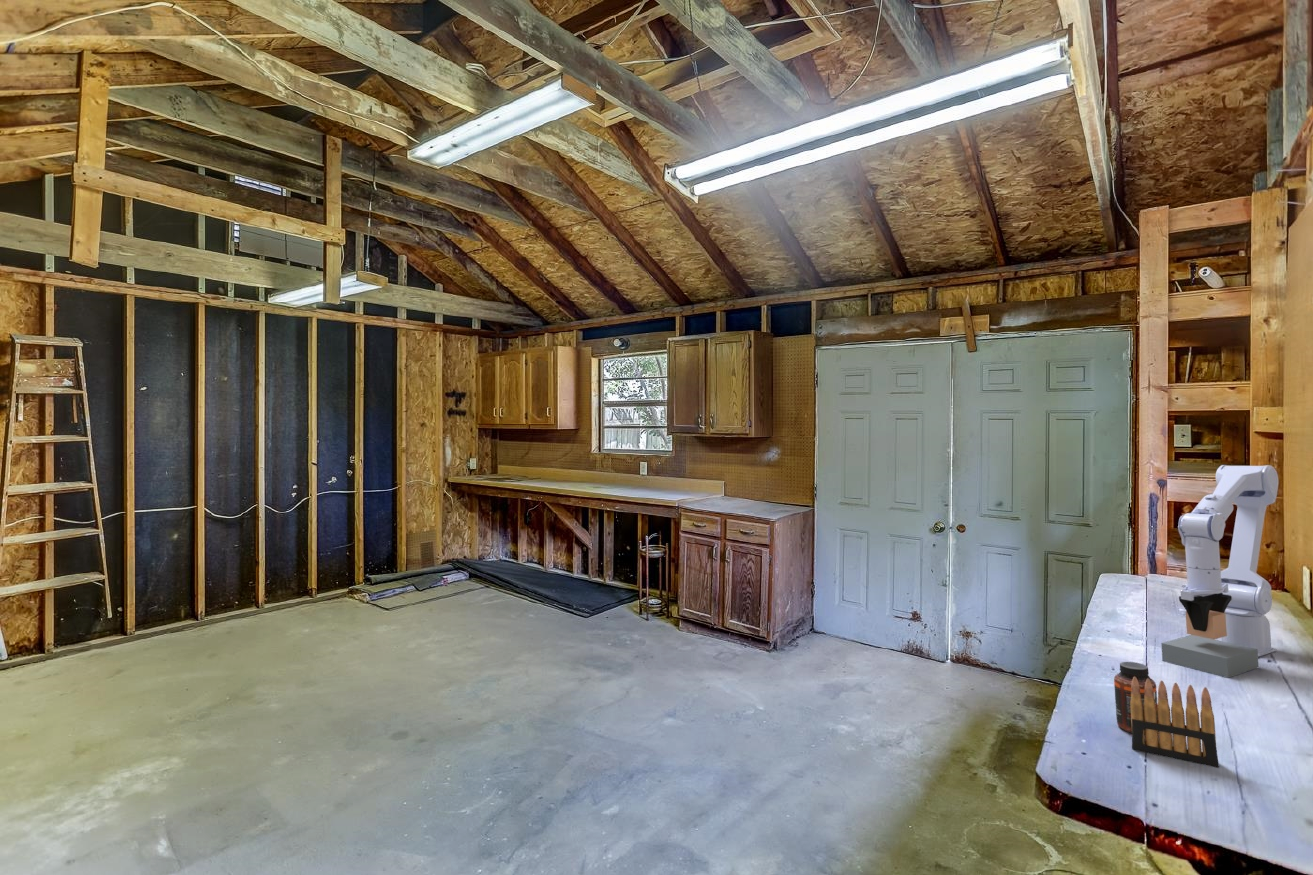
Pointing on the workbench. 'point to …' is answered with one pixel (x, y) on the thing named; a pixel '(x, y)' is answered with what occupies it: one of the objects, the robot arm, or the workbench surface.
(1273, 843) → the workbench surface
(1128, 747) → the workbench surface
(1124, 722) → the supplement bottle
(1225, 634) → the terracotta cube
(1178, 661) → the slate plinth
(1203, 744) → the ammunition clip
